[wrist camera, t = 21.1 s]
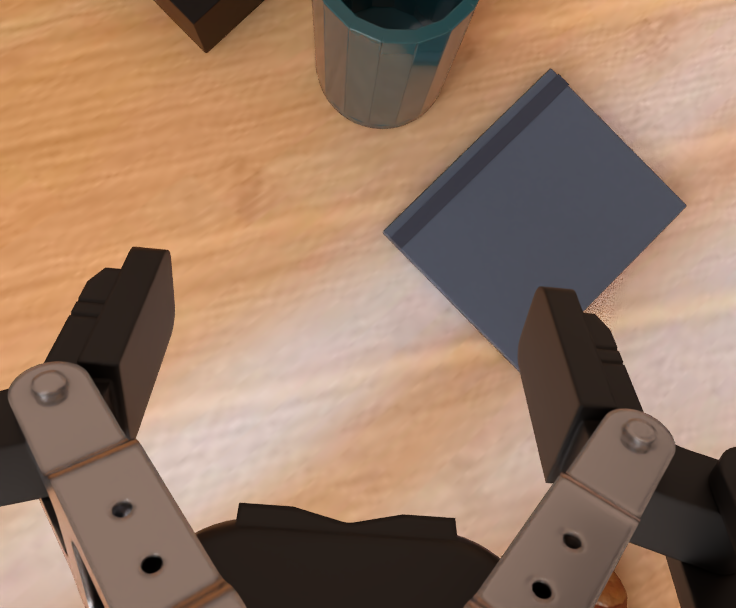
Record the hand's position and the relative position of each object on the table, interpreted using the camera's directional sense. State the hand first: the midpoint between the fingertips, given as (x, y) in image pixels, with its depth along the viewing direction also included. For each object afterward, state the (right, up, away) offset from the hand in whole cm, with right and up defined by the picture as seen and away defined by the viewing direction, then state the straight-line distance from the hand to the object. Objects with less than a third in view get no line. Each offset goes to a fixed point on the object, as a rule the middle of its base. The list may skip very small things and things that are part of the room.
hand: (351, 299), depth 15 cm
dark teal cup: (+1, +11, +17) cm, 20 cm away
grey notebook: (+8, +4, +17) cm, 19 cm away
